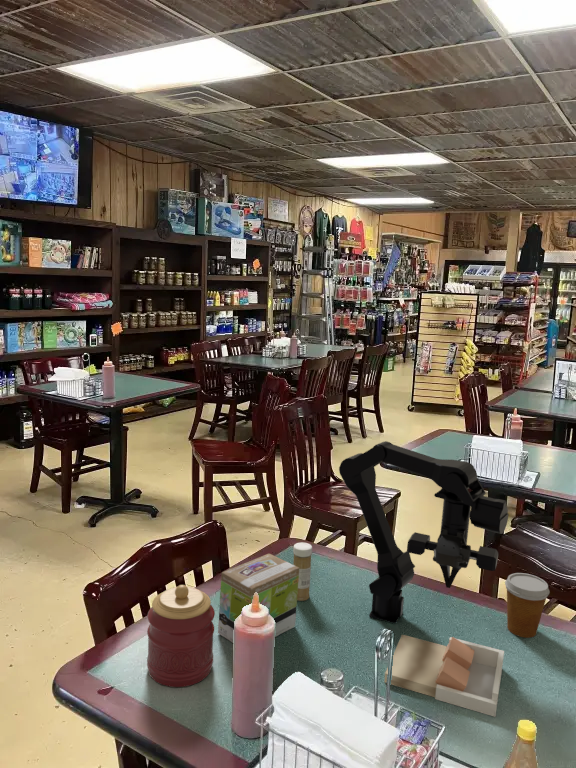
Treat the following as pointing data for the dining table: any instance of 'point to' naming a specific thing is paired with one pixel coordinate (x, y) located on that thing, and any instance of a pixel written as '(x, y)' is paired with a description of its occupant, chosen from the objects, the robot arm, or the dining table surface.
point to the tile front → (452, 675)
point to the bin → (478, 681)
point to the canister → (180, 637)
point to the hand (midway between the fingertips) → (448, 587)
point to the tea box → (259, 592)
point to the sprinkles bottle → (303, 568)
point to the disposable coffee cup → (525, 603)
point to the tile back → (459, 653)
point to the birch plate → (416, 665)
